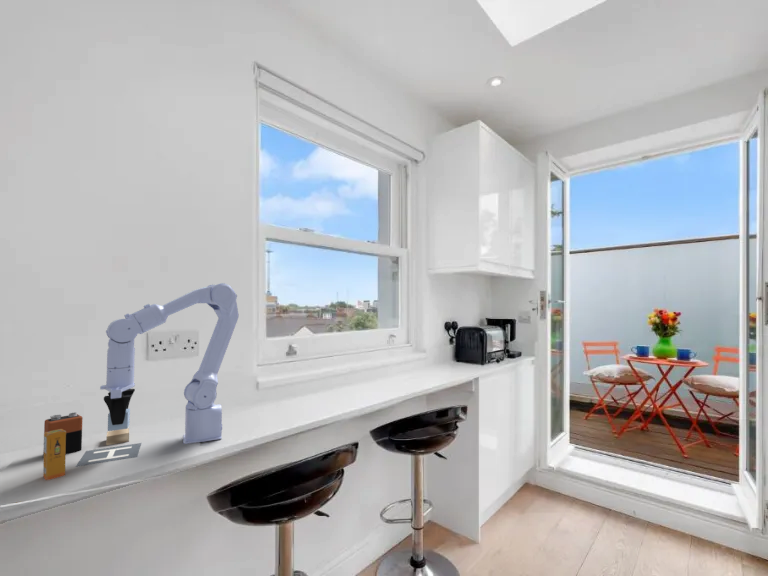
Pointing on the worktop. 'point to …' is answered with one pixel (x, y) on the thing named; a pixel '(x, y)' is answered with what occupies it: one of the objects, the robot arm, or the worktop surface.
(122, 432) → the oak block
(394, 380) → the worktop surface
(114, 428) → the blue cube
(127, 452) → the letter mat
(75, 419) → the battery
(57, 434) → the supplement box
